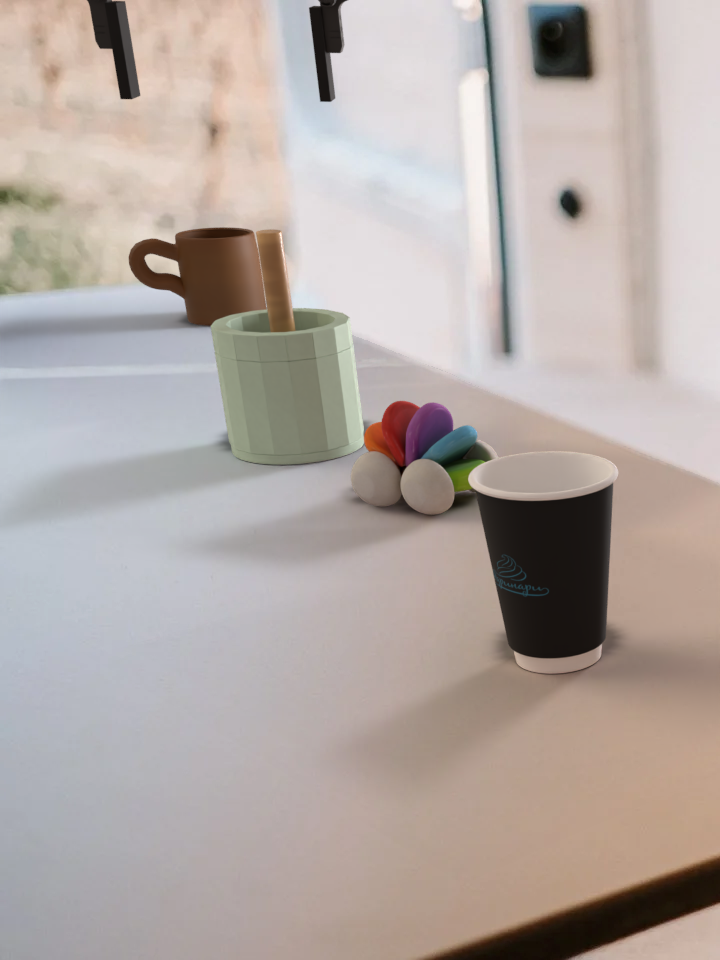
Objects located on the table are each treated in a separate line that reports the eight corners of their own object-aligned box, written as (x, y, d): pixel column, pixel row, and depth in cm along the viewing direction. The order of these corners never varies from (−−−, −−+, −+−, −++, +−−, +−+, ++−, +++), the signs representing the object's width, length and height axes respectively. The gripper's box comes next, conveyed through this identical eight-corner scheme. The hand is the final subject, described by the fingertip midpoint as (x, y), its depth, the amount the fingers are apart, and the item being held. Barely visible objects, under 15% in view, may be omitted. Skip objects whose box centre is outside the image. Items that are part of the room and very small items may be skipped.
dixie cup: (474, 686, 88) (454, 494, 83) (500, 629, 95) (482, 450, 91) (621, 684, 88) (609, 494, 84) (636, 628, 96) (625, 450, 91)
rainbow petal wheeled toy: (413, 474, 122) (402, 380, 119) (521, 491, 119) (513, 395, 116) (336, 507, 114) (322, 407, 112) (449, 526, 111) (438, 424, 109)
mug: (144, 340, 159) (126, 243, 155) (138, 325, 165) (121, 231, 161) (273, 330, 164) (260, 236, 160) (263, 315, 170) (250, 225, 167)
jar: (221, 467, 122) (199, 337, 118) (243, 432, 131) (224, 309, 127) (357, 462, 124) (340, 333, 120) (370, 427, 133) (355, 306, 129)
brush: (279, 445, 125) (248, 236, 119) (269, 434, 128) (238, 229, 121) (327, 439, 127) (299, 233, 120) (316, 428, 130) (288, 226, 123)
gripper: (-35, -242, 104) (30, 101, 113) (370, -220, 110) (403, 106, 118) (1, -232, 111) (59, 91, 120) (381, -212, 116) (411, 96, 125)
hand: (230, 99), depth 119 cm, fingers open, 13 cm apart
